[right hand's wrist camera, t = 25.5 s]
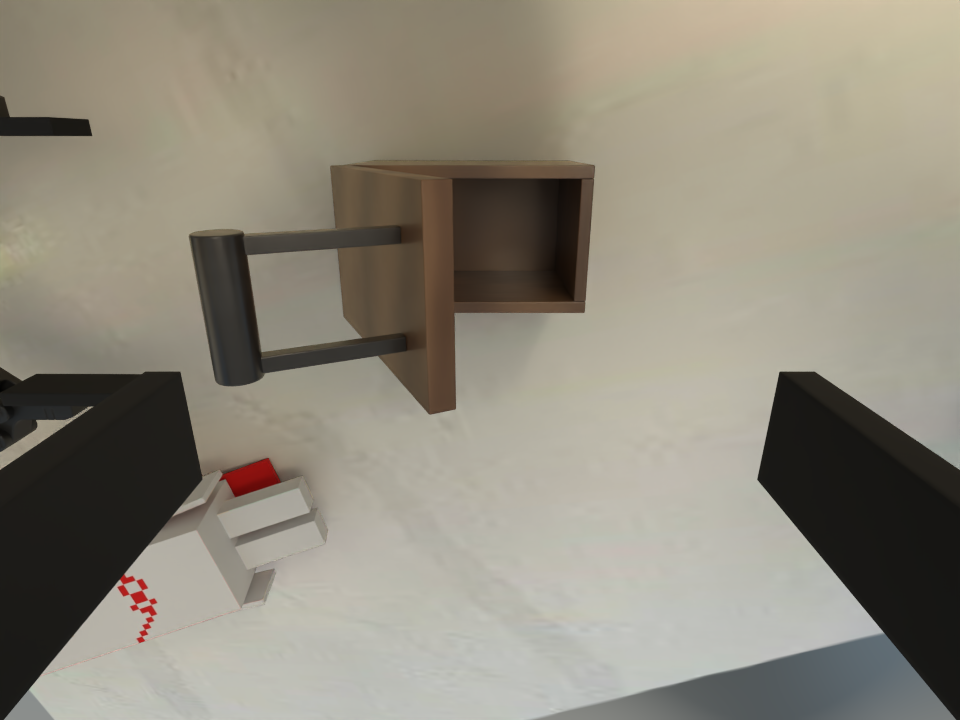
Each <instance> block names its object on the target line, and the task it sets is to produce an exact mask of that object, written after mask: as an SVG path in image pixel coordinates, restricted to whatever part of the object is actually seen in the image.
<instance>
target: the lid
mask: <svg viewBox="0 0 960 720" xmlns="http://www.w3.org/2000/svg"><path fill="white" fill-rule="evenodd" d="M330 169H331V181H332V192H333V203H334V214H335V225H336V229H320V230H303V231H286V232H269V233H252V234H244V232H243V231H240V230H233V229H218V230H205V231H198V232H194V233H191V234H189V240H190V245H191V251H192V256H193V262H194V267H195V273H196V278H197V284H198V289H199V295H200V300H201V306H202V311H203V317H204V322H205V327H206V333H207V338H208V344H209V349H210V355H211V360H212V366H213V371H214V377H215V381H216V382H217V383H218V384H219V385H223V386H241V385H247V384H250V383H253V382H256V381H258V380H260V379H261V378H263V376H264V374H265V373H269V372H276V371H282V370H289V369H295V368H302V367H308V366H315V365H321V364H328V363H334V362H341V361H347V360H354V359H360V358H366V357H373V356H379V358H380V359H381V360H382V361H383V362H384V363H385V364H386V366H387V367H388V368H389V369H390V370H391V371H392V372H393V374H394V375H395V376H396V377H397V378H398V379H399V380H400V382H401V383H402V384H403V385H404V386H405V387H406V388H407V390H408V391H409V392H410V393H411V394H412V395H413V396H414V398H415V399H416V400H417V401H418V402H419V403H420V404H421V406H422V407H423V408H424V409H425V410H426V411H427V412H428V414H435V413H440V412H445V411H450V410H455V409H456V384H455V321H454V259H453V196H452V179H449V178H442V177H434V176H426V175H419V174H411V173H404V172H396V171H389V170H381V169H374V168H366V167H359V166H351V165H335V166H330ZM337 248H338V259H339V270H340V281H341V292H342V303H343V314H344V318H345V319H346V320H347V321H348V322H349V323H350V324H351V326H352V327H353V328H354V329H355V330H356V331H357V332H358V334H359V335H360V336H361V337H362V338H361V339H354V340H346V341H339V342H332V343H325V344H318V345H311V346H304V347H296V348H289V349H282V350H275V351H268V352H261V345H260V339H259V332H258V325H257V318H256V312H255V305H254V298H253V291H252V285H251V278H250V271H249V264H248V257H247V255H255V254H268V253H282V252H296V251H309V250H323V249H337Z"/></svg>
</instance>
